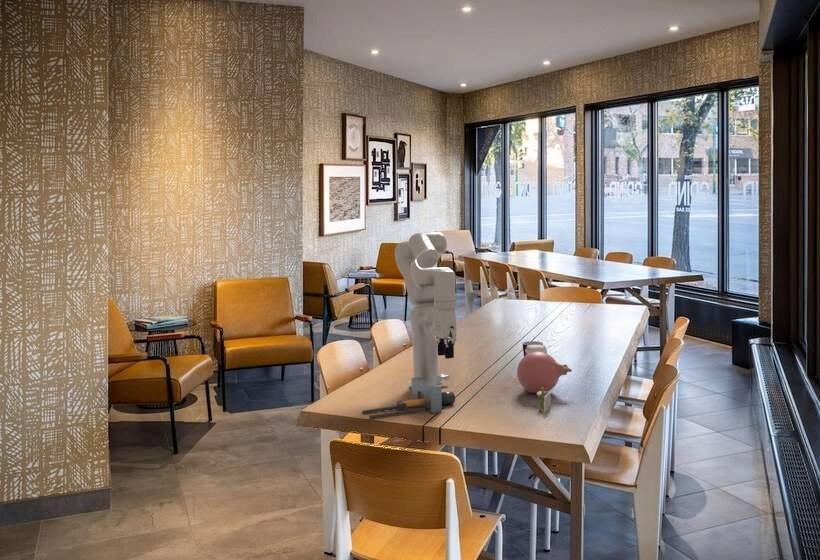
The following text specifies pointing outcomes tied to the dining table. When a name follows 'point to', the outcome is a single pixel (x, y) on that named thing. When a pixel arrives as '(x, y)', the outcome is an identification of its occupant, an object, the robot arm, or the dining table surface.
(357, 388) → the dining table surface
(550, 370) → the pink bulb shape
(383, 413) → the guide
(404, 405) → the hammer
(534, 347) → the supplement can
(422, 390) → the housing
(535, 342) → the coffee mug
